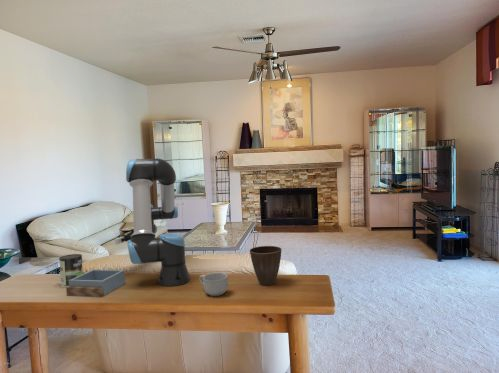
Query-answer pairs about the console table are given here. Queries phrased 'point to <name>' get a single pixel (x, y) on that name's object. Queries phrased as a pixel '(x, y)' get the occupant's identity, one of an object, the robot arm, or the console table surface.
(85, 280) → the tray
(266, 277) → the plant pot
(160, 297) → the console table surface
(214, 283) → the teacup
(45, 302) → the console table surface
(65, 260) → the coffee can
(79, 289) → the rail
